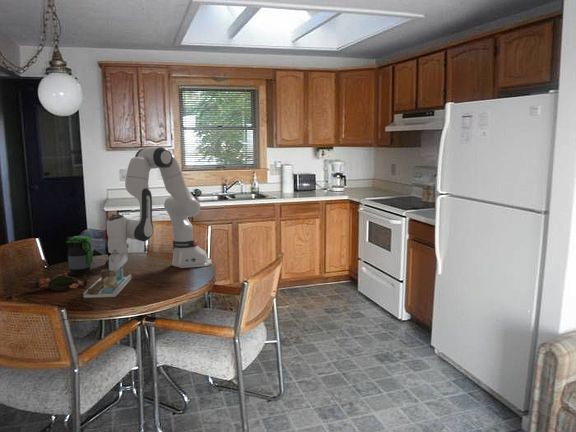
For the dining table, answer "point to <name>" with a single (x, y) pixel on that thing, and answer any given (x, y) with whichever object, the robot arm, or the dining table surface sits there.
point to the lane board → (102, 294)
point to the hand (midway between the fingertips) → (119, 275)
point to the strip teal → (119, 281)
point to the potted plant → (79, 254)
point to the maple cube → (110, 282)
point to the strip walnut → (99, 283)
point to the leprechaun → (58, 282)
